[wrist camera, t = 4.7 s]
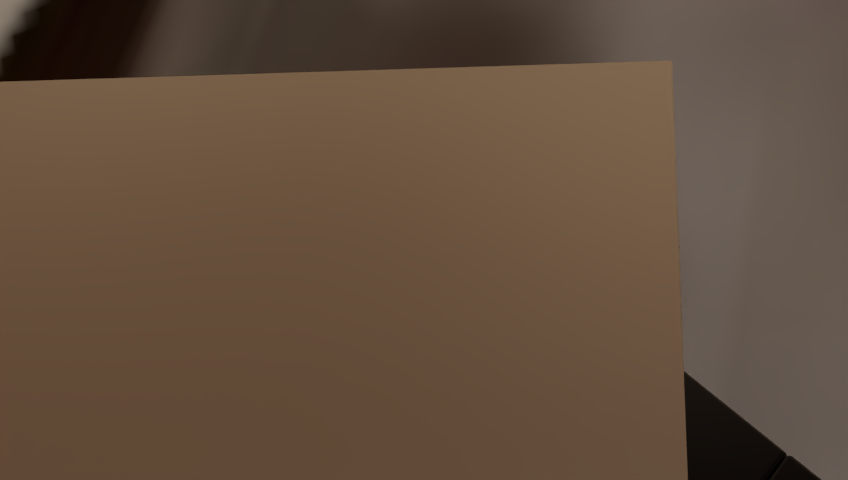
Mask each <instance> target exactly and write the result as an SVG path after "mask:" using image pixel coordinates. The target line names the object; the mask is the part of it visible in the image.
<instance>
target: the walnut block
mask: <svg viewBox="0 0 848 480" xmlns="http://www.w3.org/2000/svg"><path fill="white" fill-rule="evenodd" d="M0 480H688V470H687V444H686V418H685V391H684V365H683V339H682V313H681V287H680V260H679V234H678V208H677V182H676V155H675V129H674V103H673V77H672V61H644V62H612V63H580V64H548V65H517V66H485V67H453V68H422V69H390V70H358V71H326V72H295V73H263V74H231V75H200V76H168V77H136V78H104V79H73V80H41V81H9V82H0Z"/></svg>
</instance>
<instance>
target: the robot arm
mask: <svg viewBox="0 0 848 480" xmlns="http://www.w3.org/2000/svg"><path fill="white" fill-rule="evenodd" d="M684 391H685V418H686V444H687V470H688V480H821V479H820V478H819V477H817V476H816V475H815V474H813V473H812V472H811V471H810V470H808V469H807V468H806V467H805V466H803V465H802V464H801V463H800V462H798V461H797V460H796V459H795V458H793V457H792V456H787V454H786V453H785V452H784V451H783V450H782V449H780V448H779V447H778V446H777V445H775V444H774V443H773V442H772V441H770V440H769V439H768V438H767V437H765V436H764V435H763V434H762V433H760V432H759V431H758V430H757V429H756V428H754V427H753V426H752V425H751V424H749V423H748V422H747V421H746V420H744V419H743V418H742V417H741V416H739V415H738V414H737V413H736V412H734V411H733V410H732V409H731V408H729V407H728V406H727V405H726V404H724V403H723V402H722V401H721V400H719V399H718V398H717V397H716V396H714V395H713V394H712V393H711V392H709V391H708V390H707V389H706V388H704V387H703V386H702V385H701V384H699V383H698V382H697V381H696V380H694V379H693V378H692V377H691V376H689V375H688V374H687V373H686V372H684Z"/></svg>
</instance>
